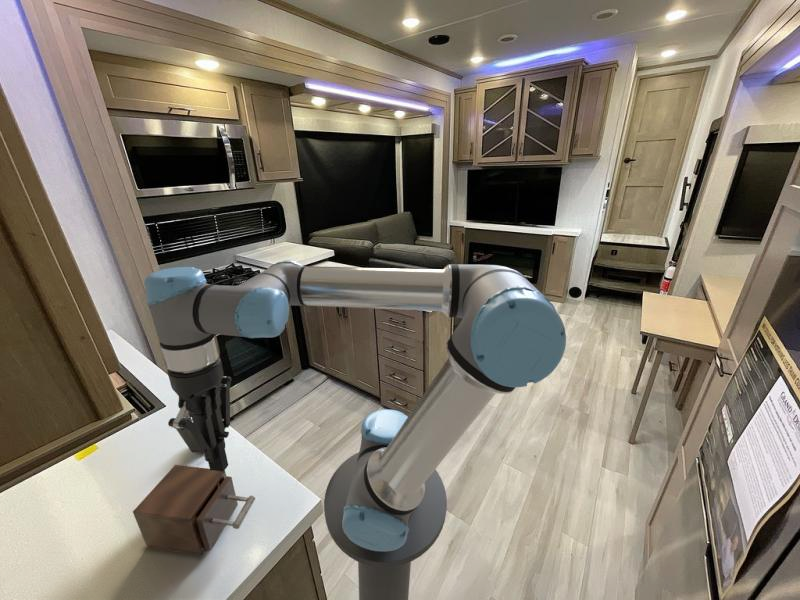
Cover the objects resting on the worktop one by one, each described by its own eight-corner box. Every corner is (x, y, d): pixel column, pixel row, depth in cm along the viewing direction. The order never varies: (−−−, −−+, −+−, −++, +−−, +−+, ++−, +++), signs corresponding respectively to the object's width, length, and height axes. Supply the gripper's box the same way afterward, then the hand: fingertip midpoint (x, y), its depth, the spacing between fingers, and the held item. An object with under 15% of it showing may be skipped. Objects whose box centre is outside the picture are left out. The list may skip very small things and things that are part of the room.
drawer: (262, 508, 71) (257, 479, 68) (238, 554, 62) (231, 524, 59) (194, 499, 72) (186, 471, 69) (161, 543, 63) (150, 513, 60)
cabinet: (233, 504, 72) (225, 470, 68) (201, 555, 62) (190, 519, 59) (185, 498, 73) (175, 464, 69) (147, 547, 63) (132, 511, 60)
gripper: (200, 340, 58) (222, 439, 67) (138, 383, 46) (175, 497, 55) (238, 344, 58) (255, 443, 66) (186, 388, 46) (216, 502, 54)
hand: (219, 467), depth 60 cm, fingers closed
